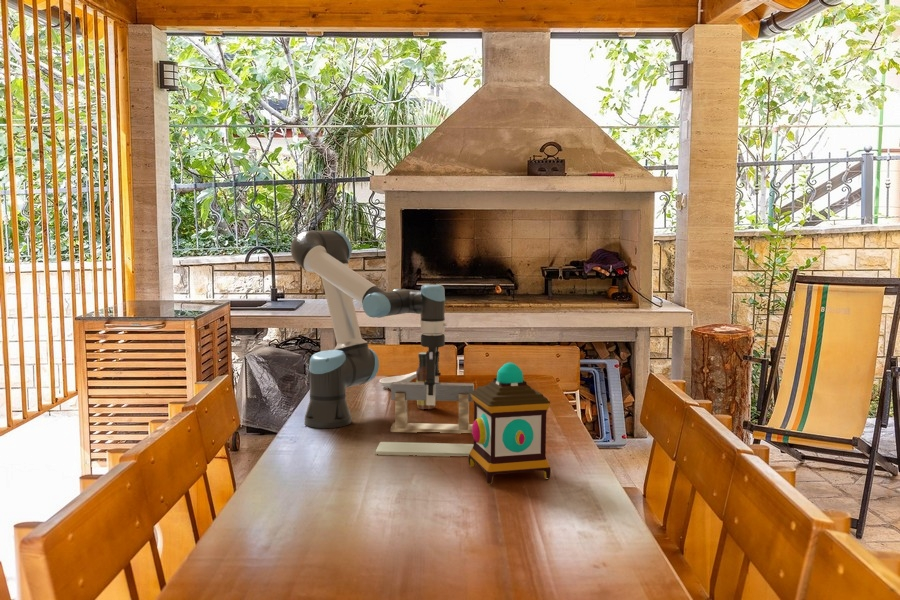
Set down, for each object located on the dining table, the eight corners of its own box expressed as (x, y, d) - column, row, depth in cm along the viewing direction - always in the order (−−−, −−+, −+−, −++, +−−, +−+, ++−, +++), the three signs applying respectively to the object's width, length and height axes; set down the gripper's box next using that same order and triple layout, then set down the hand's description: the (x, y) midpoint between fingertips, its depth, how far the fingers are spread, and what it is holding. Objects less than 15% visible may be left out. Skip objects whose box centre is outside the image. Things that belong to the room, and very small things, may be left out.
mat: (375, 454, 243) (375, 451, 243) (380, 445, 253) (380, 441, 253) (473, 457, 241) (473, 453, 241) (474, 447, 251) (474, 444, 251)
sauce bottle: (435, 406, 304) (435, 351, 302) (433, 410, 298) (433, 354, 296) (417, 405, 305) (417, 351, 302) (415, 409, 298) (415, 354, 296)
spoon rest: (378, 391, 330) (377, 373, 329) (381, 385, 341) (381, 367, 341) (438, 392, 329) (438, 374, 329) (439, 386, 341) (439, 368, 340)
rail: (391, 399, 269) (391, 384, 268) (392, 397, 273) (392, 381, 272) (473, 401, 267) (473, 385, 267) (473, 398, 271) (473, 383, 271)
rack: (390, 431, 268) (390, 393, 267) (393, 426, 275) (393, 388, 274) (472, 433, 267) (473, 395, 265) (473, 428, 274) (473, 390, 273)
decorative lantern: (484, 487, 215) (485, 370, 212) (462, 465, 234) (463, 357, 231) (557, 481, 220) (560, 367, 217) (530, 460, 239) (532, 354, 236)
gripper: (441, 339, 255) (441, 409, 258) (447, 328, 280) (446, 392, 282) (417, 339, 256) (417, 409, 258) (424, 328, 280) (424, 392, 282)
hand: (432, 400), depth 270 cm, fingers open, 12 cm apart
